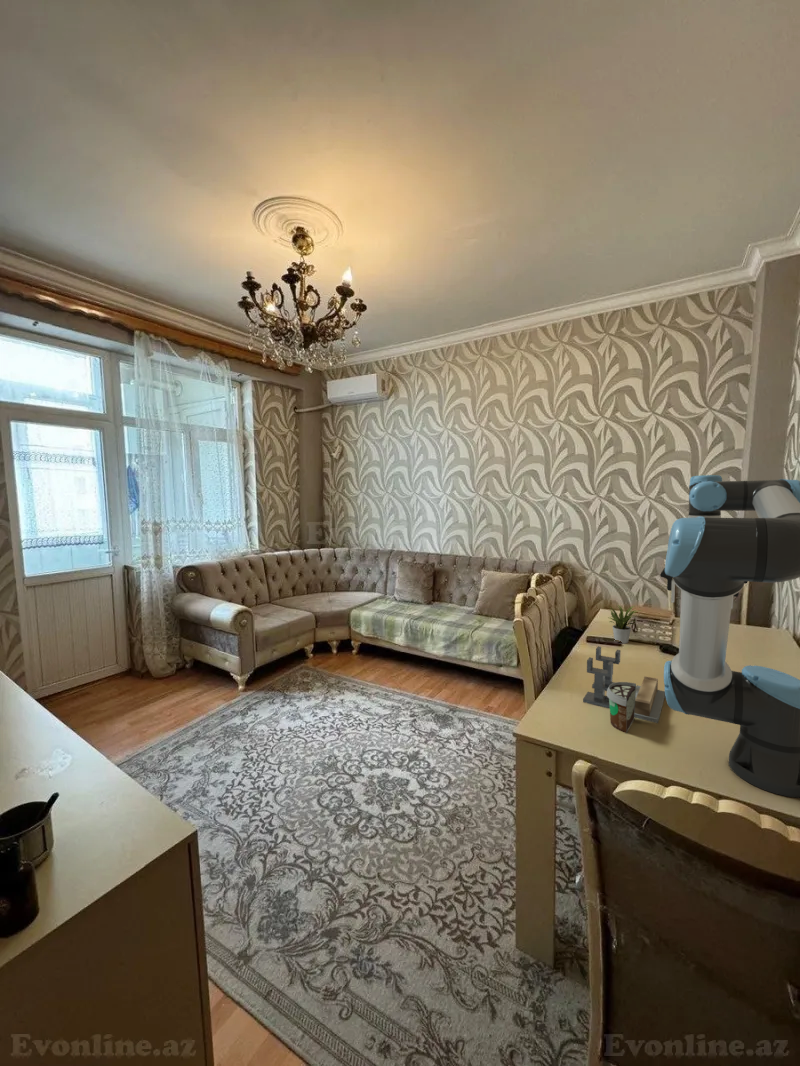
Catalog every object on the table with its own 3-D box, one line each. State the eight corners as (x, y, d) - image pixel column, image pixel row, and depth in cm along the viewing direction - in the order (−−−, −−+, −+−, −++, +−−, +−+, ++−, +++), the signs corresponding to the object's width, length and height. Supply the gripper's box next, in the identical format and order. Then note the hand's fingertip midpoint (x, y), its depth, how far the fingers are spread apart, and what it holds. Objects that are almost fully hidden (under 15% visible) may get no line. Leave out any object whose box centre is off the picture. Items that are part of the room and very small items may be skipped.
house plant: (644, 639, 188) (645, 602, 187) (642, 649, 177) (643, 609, 175) (608, 634, 196) (609, 598, 195) (604, 643, 184) (605, 605, 183)
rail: (657, 690, 138) (657, 678, 138) (649, 716, 122) (649, 704, 121) (644, 687, 140) (644, 676, 140) (634, 713, 124) (634, 700, 124)
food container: (612, 710, 128) (612, 677, 127) (635, 716, 124) (636, 682, 123) (600, 728, 118) (601, 692, 117) (625, 735, 114) (626, 699, 114)
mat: (657, 723, 120) (658, 719, 120) (625, 715, 125) (625, 711, 125) (665, 694, 137) (665, 691, 137) (636, 688, 142) (636, 685, 142)
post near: (615, 701, 133) (616, 660, 132) (611, 709, 128) (612, 667, 127) (587, 694, 138) (588, 655, 137) (583, 701, 133) (583, 661, 132)
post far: (622, 687, 143) (623, 649, 142) (619, 693, 138) (620, 654, 137) (596, 681, 148) (597, 644, 147) (592, 687, 143) (592, 649, 142)
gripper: (759, 530, 118) (755, 607, 120) (653, 528, 132) (651, 596, 134) (762, 532, 112) (758, 613, 114) (651, 530, 126) (649, 601, 128)
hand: (700, 604), depth 124 cm, fingers open, 13 cm apart
